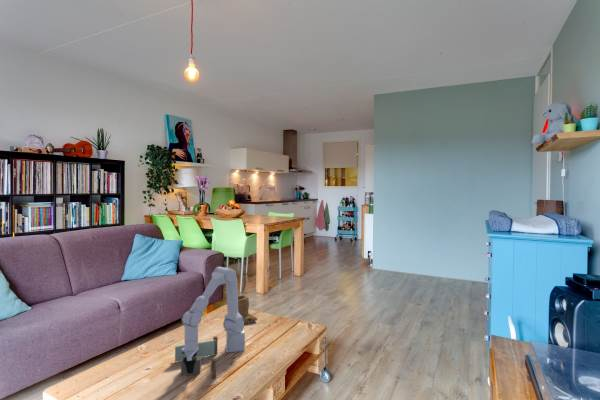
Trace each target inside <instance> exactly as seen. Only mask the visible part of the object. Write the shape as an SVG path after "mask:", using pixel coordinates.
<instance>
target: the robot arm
mask: <svg viewBox="0 0 600 400" xmlns="http://www.w3.org/2000/svg"><path fill="white" fill-rule="evenodd" d="M238 282H239V281H238V277H237V271H236V270H235V269H233V268H229V267H222V266H220V265H219V266H216V267H215V268H214V270H213V271H212V273H211V279H210V280H209V283H208V284H207V285H206V288H205V290H204V292H203V293H202V295H199V296H197V298H196V299H195V301H194V302H193V304H192V305H191V307H190V309H188V310H187V311H185V312H184V313H183V315H182V318H181V322H182V323H183V328H184V345H185V348H182V352H183V351H184V352H185V354H186V356H187V357H185V358H183V362H184V363H185V365H186V369H187V373H188V375H192V374H191V373H193V369H194V364H195V362H196V360H197V357H194V358H193V357H192V356H196V354H197V351H198V349H199V346H198V342H199V324H200V323H201V321H202V316H203V313H204V311H205V310H206V309H207V306H208V305H209V299H210V297H212V295H213V294H214V292H215V291H216V289H217V288H218V287H219V286H221V285H226V299H227V300H226V307H227V314H225V315H224V319H223V324H222V326H223V328H224V329H225V333H226V340H225V342H226V344H225V353H235V352H245V349H246V348H245V347H246V337H245V336H246V335H245V334H246V332H245V330H244V329H245V323H244V322H243V317H242V316H241V315H240V314H239V312H238V296H239V290H238V289H239V288H238V287H239V285H238V284H239V283H238Z"/></svg>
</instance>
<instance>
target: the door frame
mask: <svg viewBox="0 0 600 400" xmlns="http://www.w3.org/2000/svg"><path fill="white" fill-rule="evenodd" d="M218 337H219V336H213V339H212V340H217V343H216V355H218V339H219V338H218ZM216 379H217V358H216V357H215V358H211V360H210V380H216Z"/></svg>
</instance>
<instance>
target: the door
mask: <svg viewBox="0 0 600 400" xmlns="http://www.w3.org/2000/svg"><path fill="white" fill-rule="evenodd" d="M216 343H217V344H218V341H217V340H213V339H212V340H204V341H200V342H199V341H198V346H199V349H198V351H197V354H196V356H201V358H202V357H203V358H204V357H209V356H215V355H217V354H216ZM182 348H185V344H179V345H175V346H174V362H181V361H182V357H187V356H186V354H185V352H184V351H183V352H182Z"/></svg>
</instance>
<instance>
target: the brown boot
mask: <svg viewBox="0 0 600 400" xmlns="http://www.w3.org/2000/svg"><path fill="white" fill-rule="evenodd" d="M249 308H250V300H249V297H248V296H247V295H238V312H239V314H240V315H241V316H242V317H243V322H244V324H252V323H254V322H256V321H257V320H258V317H256V316H254V315H253V314H251V313H249Z"/></svg>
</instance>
